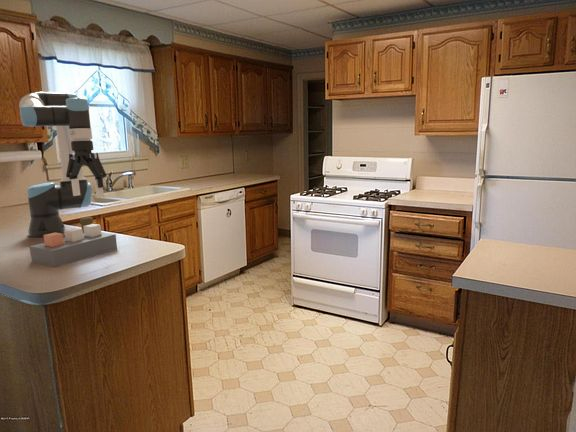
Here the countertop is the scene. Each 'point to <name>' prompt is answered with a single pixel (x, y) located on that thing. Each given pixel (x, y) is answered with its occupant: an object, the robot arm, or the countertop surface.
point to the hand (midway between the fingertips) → (88, 196)
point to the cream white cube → (73, 234)
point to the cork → (86, 221)
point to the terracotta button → (53, 239)
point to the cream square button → (92, 230)
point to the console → (72, 250)
